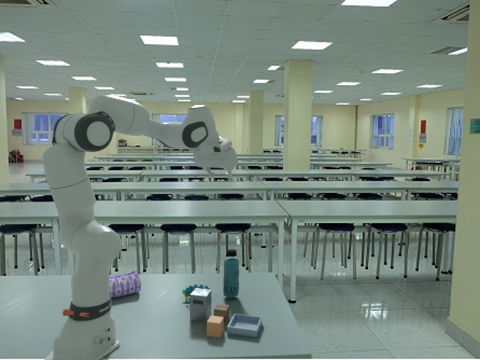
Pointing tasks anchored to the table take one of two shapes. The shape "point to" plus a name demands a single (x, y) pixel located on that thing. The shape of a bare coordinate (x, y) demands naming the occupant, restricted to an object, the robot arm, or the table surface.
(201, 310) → the box
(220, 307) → the walnut block
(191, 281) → the table surface
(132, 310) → the table surface
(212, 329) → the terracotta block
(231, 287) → the beverage bottle
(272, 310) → the table surface
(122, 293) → the pencil case
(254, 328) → the tray
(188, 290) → the gear
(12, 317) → the table surface
